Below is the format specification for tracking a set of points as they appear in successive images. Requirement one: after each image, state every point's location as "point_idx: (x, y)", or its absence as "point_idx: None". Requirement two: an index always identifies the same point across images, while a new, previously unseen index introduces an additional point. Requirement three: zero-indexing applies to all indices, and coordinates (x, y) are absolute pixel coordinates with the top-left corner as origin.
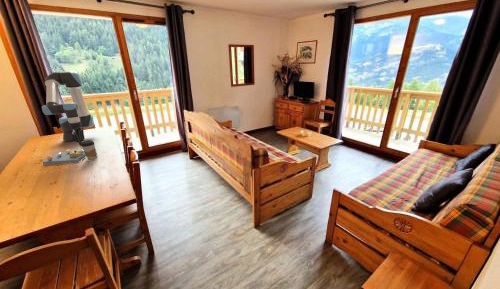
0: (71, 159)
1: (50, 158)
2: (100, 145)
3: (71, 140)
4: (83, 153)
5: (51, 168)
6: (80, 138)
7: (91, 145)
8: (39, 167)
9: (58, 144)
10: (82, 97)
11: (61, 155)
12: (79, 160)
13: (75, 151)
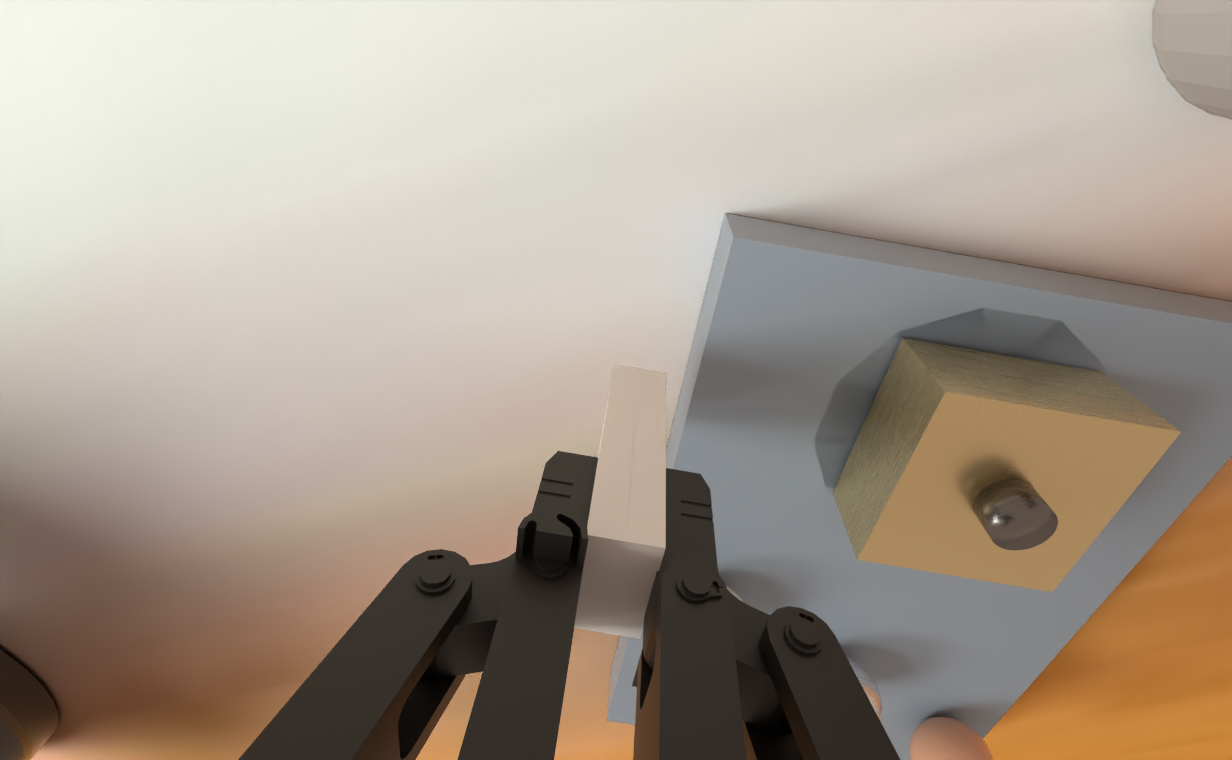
0: (1186, 461)
1: (987, 752)
2: (136, 111)
3: (11, 689)
4: (888, 323)
5: (1191, 621)
6: (705, 731)
7: None
8: (1010, 733)
9: (167, 755)
10: None
11: (850, 660)
12: (1206, 302)
13: (1047, 505)
